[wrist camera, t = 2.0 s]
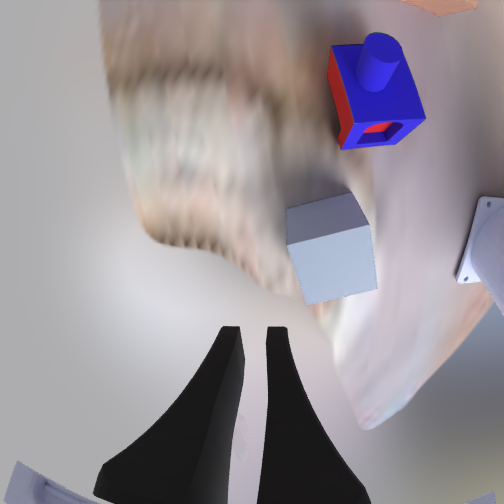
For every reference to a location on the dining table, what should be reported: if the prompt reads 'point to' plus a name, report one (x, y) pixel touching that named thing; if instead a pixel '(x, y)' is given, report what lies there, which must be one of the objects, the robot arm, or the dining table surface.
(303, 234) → the slate blue block
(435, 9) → the terracotta block
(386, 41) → the toy building block
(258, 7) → the dining table surface
